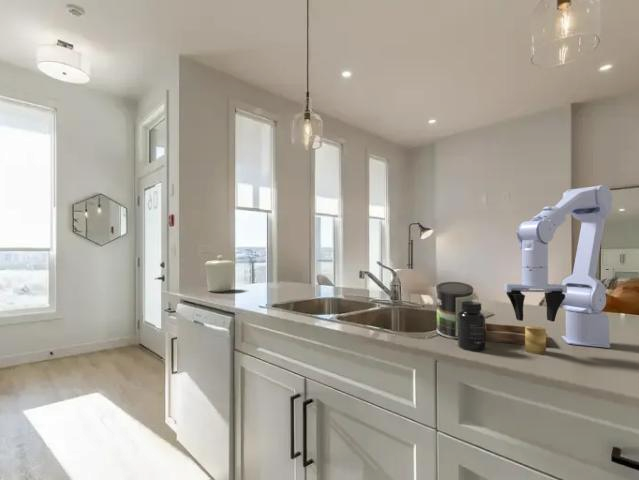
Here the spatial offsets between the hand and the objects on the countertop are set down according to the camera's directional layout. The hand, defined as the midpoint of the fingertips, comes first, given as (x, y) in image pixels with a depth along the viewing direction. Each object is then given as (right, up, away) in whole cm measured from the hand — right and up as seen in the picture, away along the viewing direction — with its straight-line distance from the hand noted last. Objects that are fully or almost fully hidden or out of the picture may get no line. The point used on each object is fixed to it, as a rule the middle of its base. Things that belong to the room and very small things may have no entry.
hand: (535, 320), depth 90 cm
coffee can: (-14, -7, +16) cm, 23 cm away
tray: (+1, -8, +13) cm, 15 cm away
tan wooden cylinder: (0, -8, 0) cm, 8 cm away
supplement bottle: (-15, -8, +3) cm, 17 cm away
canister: (-115, -10, +118) cm, 165 cm away
